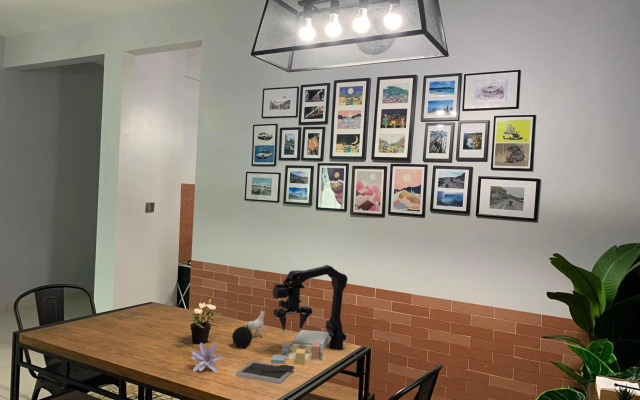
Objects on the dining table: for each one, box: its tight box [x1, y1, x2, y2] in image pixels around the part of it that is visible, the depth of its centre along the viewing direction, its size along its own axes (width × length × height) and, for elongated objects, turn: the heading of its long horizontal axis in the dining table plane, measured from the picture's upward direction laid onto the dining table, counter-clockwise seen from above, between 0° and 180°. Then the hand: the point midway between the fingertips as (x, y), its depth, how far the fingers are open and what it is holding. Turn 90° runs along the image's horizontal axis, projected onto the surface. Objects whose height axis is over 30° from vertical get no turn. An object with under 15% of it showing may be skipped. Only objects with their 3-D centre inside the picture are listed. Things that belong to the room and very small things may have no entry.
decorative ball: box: [231, 326, 253, 348], centre depth 246 cm, size 10×10×10 cm
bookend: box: [281, 341, 291, 357], centre depth 234 cm, size 3×6×5 cm, turn 178°
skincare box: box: [291, 329, 331, 352], centre depth 252 cm, size 21×6×16 cm
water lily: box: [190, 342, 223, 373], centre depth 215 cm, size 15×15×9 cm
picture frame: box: [235, 360, 295, 385], centre depth 212 cm, size 16×3×21 cm
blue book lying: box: [270, 354, 287, 365], centre depth 225 cm, size 6×6×3 cm
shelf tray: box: [280, 342, 324, 362], centre depth 234 cm, size 20×10×5 cm, turn 88°
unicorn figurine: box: [242, 308, 266, 339], centre depth 261 cm, size 7×20×13 cm, turn 153°
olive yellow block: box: [294, 349, 306, 366], centre depth 225 cm, size 4×6×6 cm, turn 178°
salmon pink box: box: [312, 342, 320, 359], centre depth 233 cm, size 3×7×6 cm, turn 178°
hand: (292, 329), depth 235 cm, fingers open, 9 cm apart
